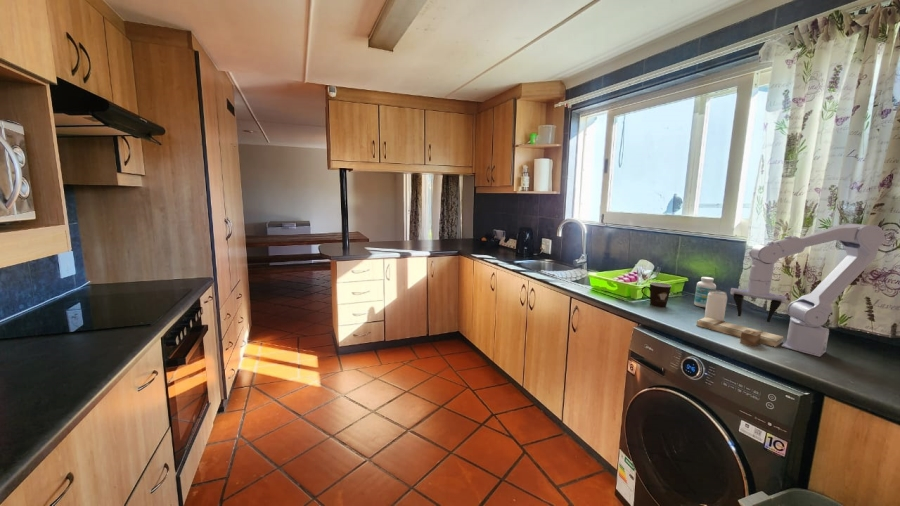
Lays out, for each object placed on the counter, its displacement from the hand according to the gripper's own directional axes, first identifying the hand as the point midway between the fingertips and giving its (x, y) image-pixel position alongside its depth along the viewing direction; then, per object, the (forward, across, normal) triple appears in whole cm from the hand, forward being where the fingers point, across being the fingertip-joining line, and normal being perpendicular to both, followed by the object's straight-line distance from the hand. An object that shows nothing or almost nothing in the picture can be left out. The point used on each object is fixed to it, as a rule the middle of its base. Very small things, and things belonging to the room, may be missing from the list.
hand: (753, 318), depth 124 cm
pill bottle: (+9, +21, -41) cm, 47 cm away
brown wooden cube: (+9, 0, 0) cm, 9 cm away
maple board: (+9, +4, -9) cm, 13 cm away
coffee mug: (+9, +37, -25) cm, 46 cm away
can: (+9, +13, -20) cm, 26 cm away
